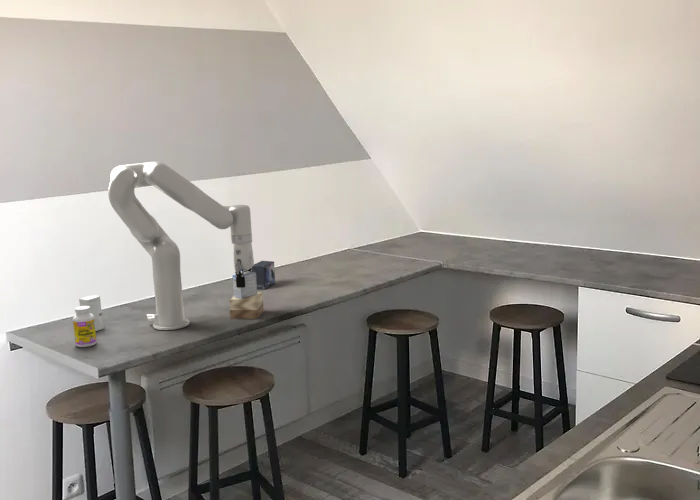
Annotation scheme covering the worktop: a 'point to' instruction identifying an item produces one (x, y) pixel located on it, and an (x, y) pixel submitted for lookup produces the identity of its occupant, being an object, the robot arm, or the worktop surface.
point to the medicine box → (246, 286)
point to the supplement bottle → (84, 327)
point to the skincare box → (94, 309)
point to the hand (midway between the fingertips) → (244, 284)
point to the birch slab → (247, 302)
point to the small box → (264, 274)
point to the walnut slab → (246, 313)
